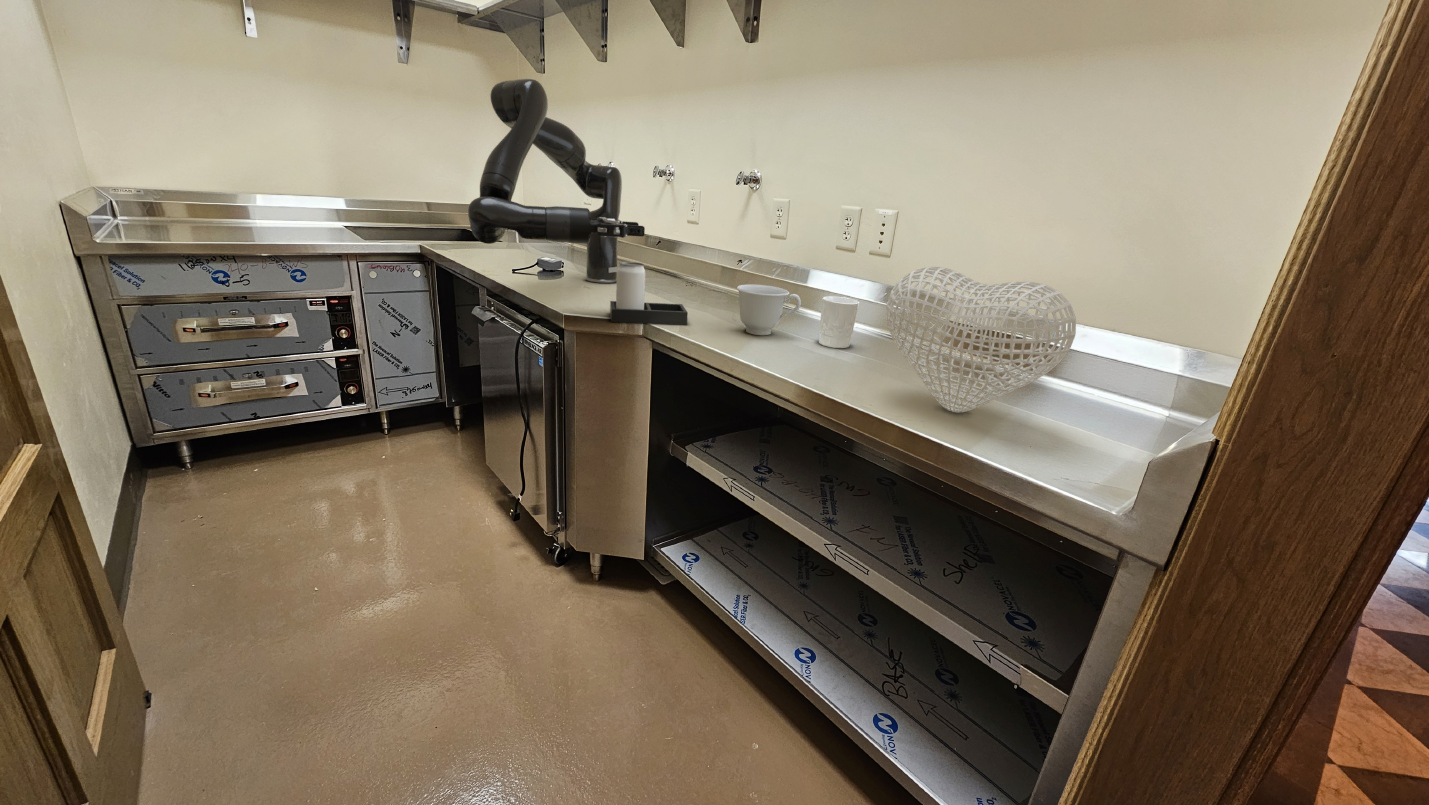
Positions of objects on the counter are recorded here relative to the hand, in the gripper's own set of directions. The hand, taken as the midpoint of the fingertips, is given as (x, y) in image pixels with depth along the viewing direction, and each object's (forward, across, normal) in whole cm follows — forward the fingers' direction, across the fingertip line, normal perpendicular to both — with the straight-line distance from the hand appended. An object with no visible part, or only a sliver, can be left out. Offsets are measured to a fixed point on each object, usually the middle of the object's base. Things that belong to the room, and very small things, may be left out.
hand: (641, 229), depth 137 cm
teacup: (+27, -13, +21) cm, 37 cm away
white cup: (+40, -22, +21) cm, 51 cm away
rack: (+2, -1, +20) cm, 21 cm away
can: (-2, 0, +20) cm, 20 cm away
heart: (+42, -63, +20) cm, 78 cm away
